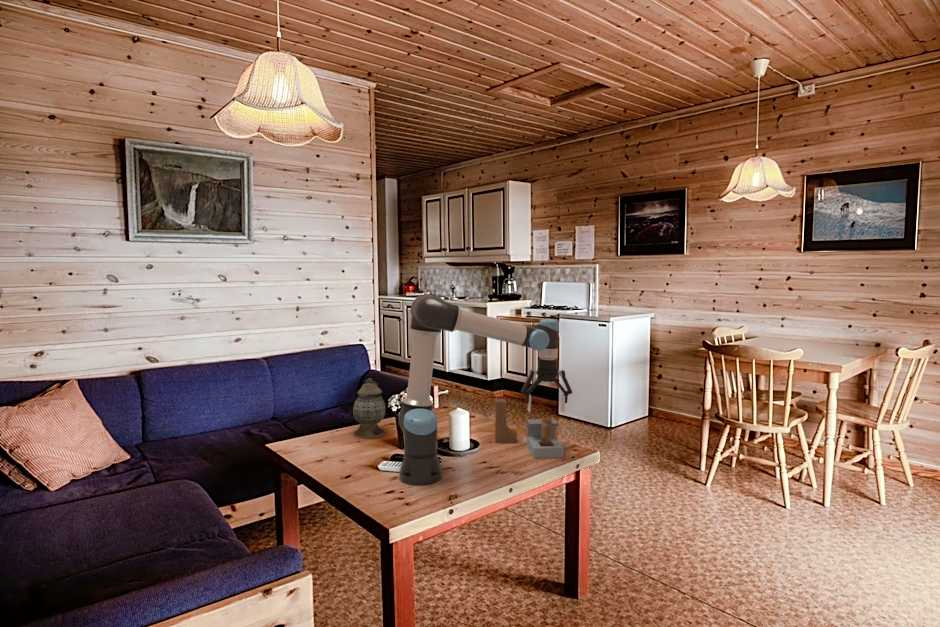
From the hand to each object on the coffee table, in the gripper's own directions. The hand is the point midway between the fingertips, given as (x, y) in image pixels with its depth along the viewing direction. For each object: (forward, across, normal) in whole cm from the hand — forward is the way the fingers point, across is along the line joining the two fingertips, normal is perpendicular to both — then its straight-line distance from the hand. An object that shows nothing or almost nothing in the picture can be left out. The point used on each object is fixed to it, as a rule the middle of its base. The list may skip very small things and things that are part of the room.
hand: (545, 411), depth 227 cm
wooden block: (+18, -13, +16) cm, 28 cm away
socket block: (+18, +1, +3) cm, 18 cm away
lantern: (+19, -72, +31) cm, 81 cm away
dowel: (+18, +1, 0) cm, 18 cm away
